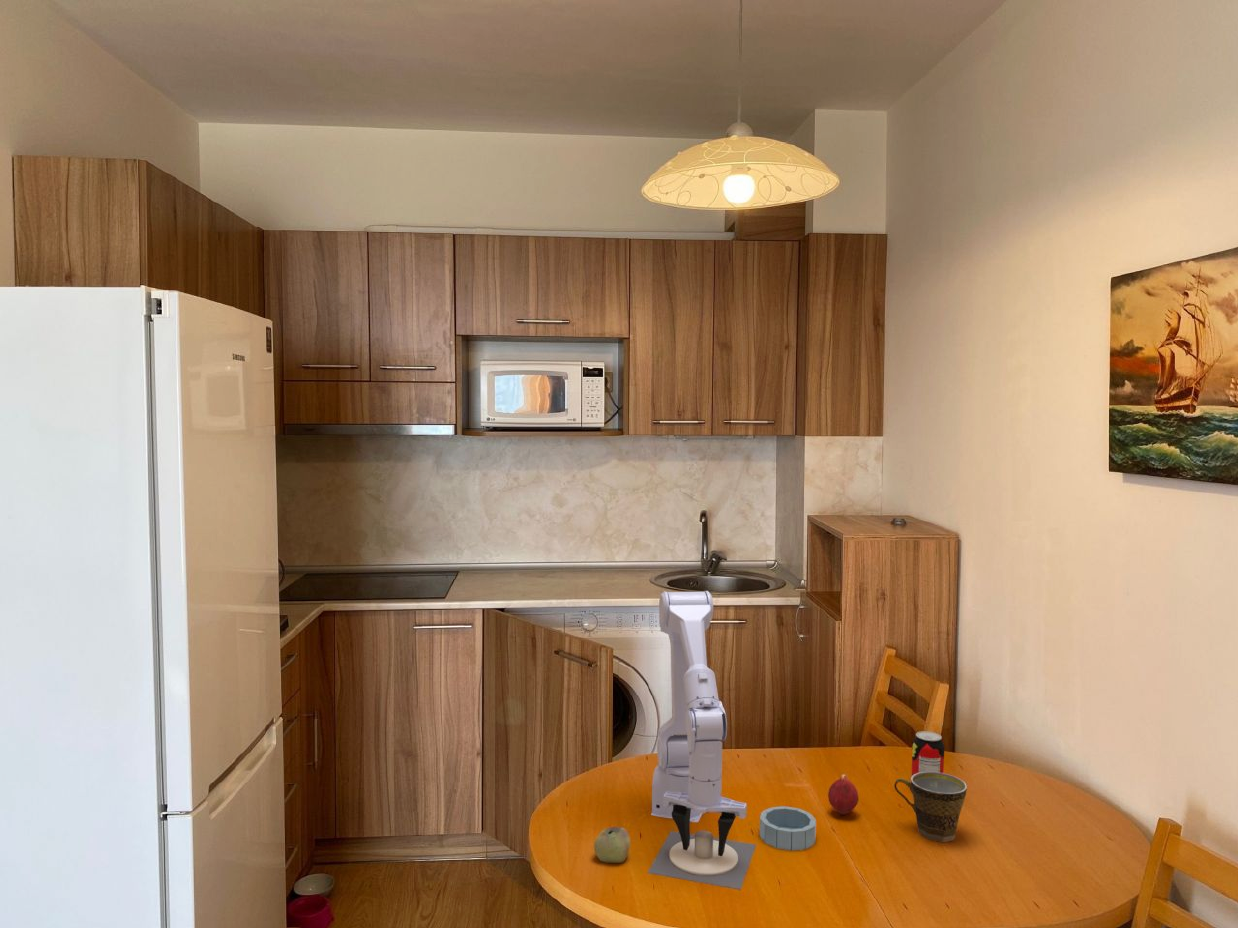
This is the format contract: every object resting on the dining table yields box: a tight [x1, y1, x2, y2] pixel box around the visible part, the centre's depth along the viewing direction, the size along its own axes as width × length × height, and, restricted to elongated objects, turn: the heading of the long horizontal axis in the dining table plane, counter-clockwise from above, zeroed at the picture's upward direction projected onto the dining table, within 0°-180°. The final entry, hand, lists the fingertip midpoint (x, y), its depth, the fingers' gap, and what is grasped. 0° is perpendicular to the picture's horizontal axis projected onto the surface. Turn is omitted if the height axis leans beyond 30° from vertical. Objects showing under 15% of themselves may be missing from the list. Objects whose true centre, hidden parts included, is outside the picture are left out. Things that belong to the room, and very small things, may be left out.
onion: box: [827, 773, 859, 816], centre depth 177 cm, size 6×6×8 cm
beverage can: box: [910, 730, 945, 778], centre depth 188 cm, size 6×6×12 cm
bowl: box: [759, 805, 817, 852], centre depth 166 cm, size 10×10×4 cm
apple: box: [593, 826, 631, 864], centre depth 158 cm, size 6×8×6 cm
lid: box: [670, 830, 738, 876], centre depth 158 cm, size 12×12×4 cm
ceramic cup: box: [893, 772, 968, 843], centre depth 170 cm, size 13×10×10 cm
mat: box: [647, 830, 757, 890], centre depth 158 cm, size 16×16×1 cm
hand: (703, 850), depth 158 cm, fingers open, 6 cm apart
